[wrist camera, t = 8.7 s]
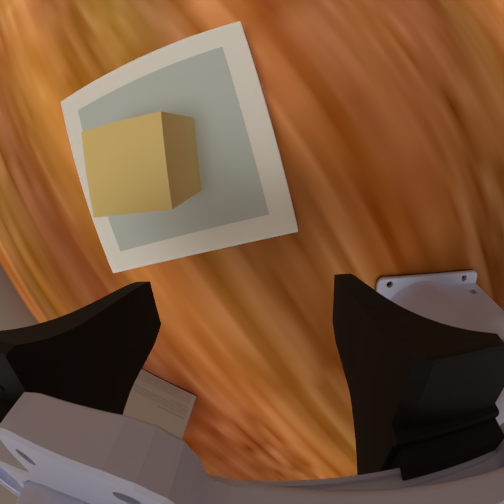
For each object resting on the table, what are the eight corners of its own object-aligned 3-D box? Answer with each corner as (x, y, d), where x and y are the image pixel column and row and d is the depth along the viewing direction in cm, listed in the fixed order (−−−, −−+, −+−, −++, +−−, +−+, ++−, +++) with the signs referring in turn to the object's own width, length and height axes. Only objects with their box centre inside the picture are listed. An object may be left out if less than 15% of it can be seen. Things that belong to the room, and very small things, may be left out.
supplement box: (133, 362, 27) (76, 458, 16) (199, 395, 28) (164, 501, 16) (121, 398, 30) (76, 480, 18) (177, 426, 31) (146, 514, 19)
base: (244, 31, 16) (240, 20, 14) (297, 223, 21) (298, 232, 19) (76, 102, 19) (60, 101, 17) (124, 263, 23) (112, 273, 21)
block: (193, 117, 17) (160, 111, 12) (201, 190, 19) (172, 209, 14) (128, 130, 18) (81, 131, 13) (136, 197, 19) (93, 218, 14)
